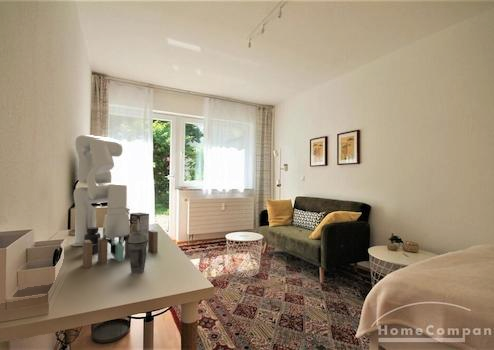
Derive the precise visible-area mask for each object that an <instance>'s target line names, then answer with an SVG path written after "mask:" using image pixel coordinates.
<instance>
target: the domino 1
mask: <svg viewBox="0 0 494 350" xmlns="http://www.w3.org/2000/svg"><path fill="white" fill-rule="evenodd" d="M82 266H83V267H84V268H85V269H90V268H92V267H93V254H92V242H91V241H90V240H84V241H83V246H82Z"/></svg>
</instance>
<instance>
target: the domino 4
mask: <svg viewBox="0 0 494 350" xmlns="http://www.w3.org/2000/svg"><path fill="white" fill-rule="evenodd" d="M158 234H159V232H158V231H157V230H155V229H154V230H153V229H150V230H148V244H147V247H148V248H147V250H148V252H150V253H153V254H155V253H158V250H159V249H158V245H159V244H158V243H159V241H158V240H159V239H158V237H159V235H158Z"/></svg>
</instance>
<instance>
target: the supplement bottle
mask: <svg viewBox="0 0 494 350" xmlns="http://www.w3.org/2000/svg"><path fill="white" fill-rule="evenodd" d="M86 232H87V234H85V235H84V240H90V241H91V242H92V255H94V254H95V255H96V254H98V238H101V233H100V232H99V226H96V227H90V228H87V231H86Z"/></svg>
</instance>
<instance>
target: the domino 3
mask: <svg viewBox="0 0 494 350" xmlns="http://www.w3.org/2000/svg"><path fill="white" fill-rule="evenodd" d="M129 237H130V235H128V238H127V239H126V240H125V241H124V256H125V257H126V258H127V259H129V260H130V253H129V247H128V239H129Z"/></svg>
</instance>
